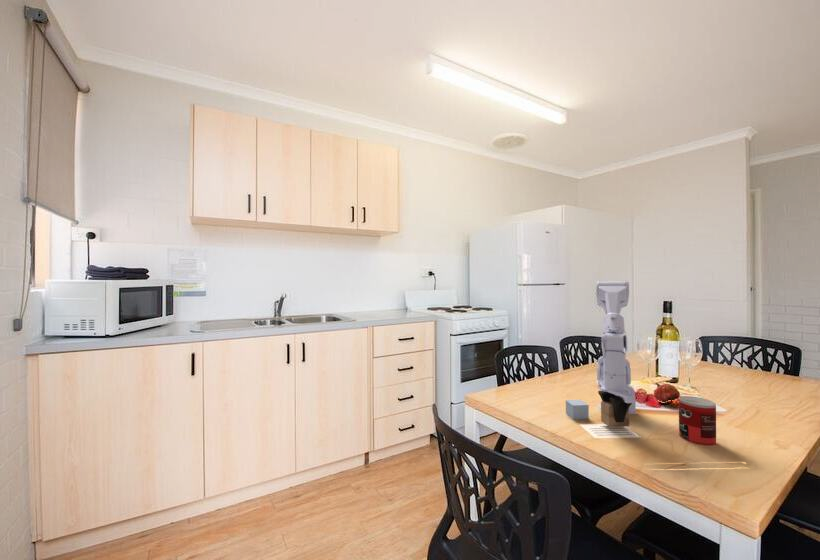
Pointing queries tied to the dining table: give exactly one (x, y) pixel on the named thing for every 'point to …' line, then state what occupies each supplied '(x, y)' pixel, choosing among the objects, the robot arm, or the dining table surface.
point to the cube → (577, 409)
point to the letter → (608, 431)
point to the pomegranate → (666, 392)
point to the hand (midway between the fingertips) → (614, 418)
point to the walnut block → (611, 415)
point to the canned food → (697, 420)
